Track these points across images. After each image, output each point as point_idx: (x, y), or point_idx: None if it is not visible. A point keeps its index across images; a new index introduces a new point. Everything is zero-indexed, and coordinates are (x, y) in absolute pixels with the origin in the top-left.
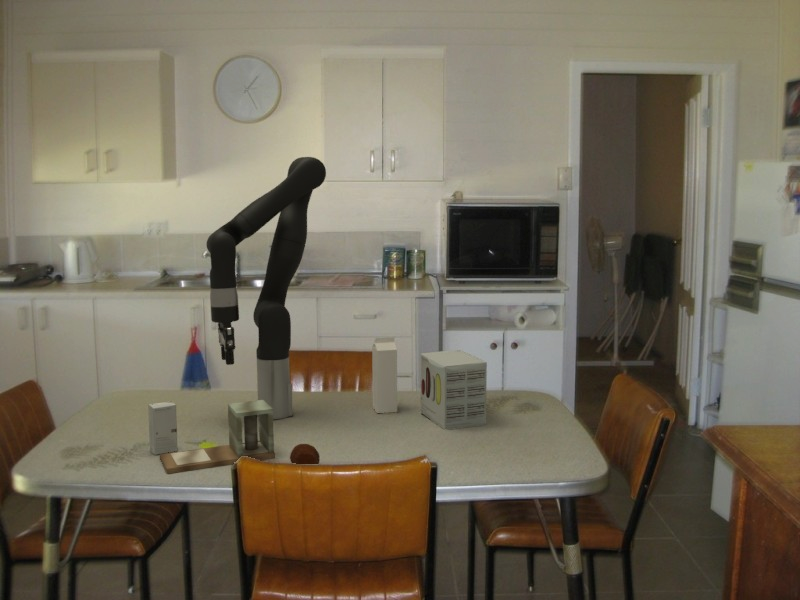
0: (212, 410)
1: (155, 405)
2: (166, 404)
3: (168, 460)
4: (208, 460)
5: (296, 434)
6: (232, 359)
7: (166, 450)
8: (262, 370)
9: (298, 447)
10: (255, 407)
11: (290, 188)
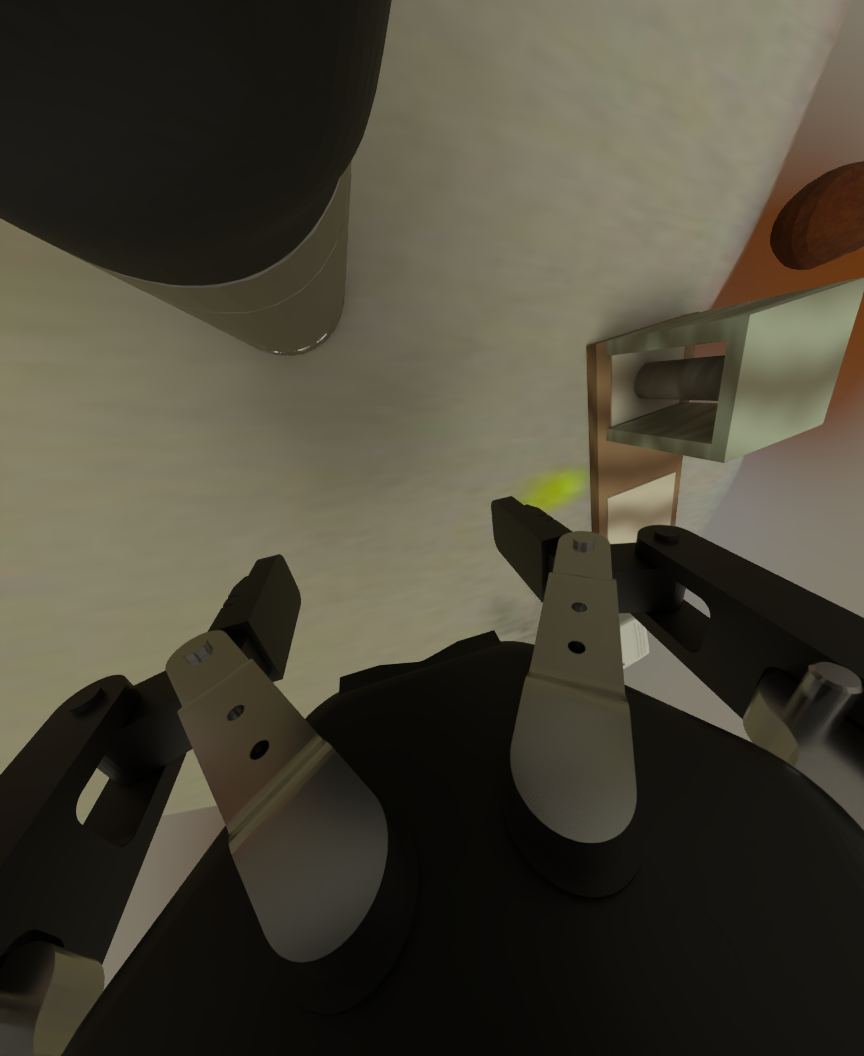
0: (211, 532)
1: (632, 656)
2: (635, 635)
3: None
4: (674, 477)
5: (530, 207)
6: (543, 515)
7: None
8: (323, 263)
9: None
10: (813, 354)
11: None
